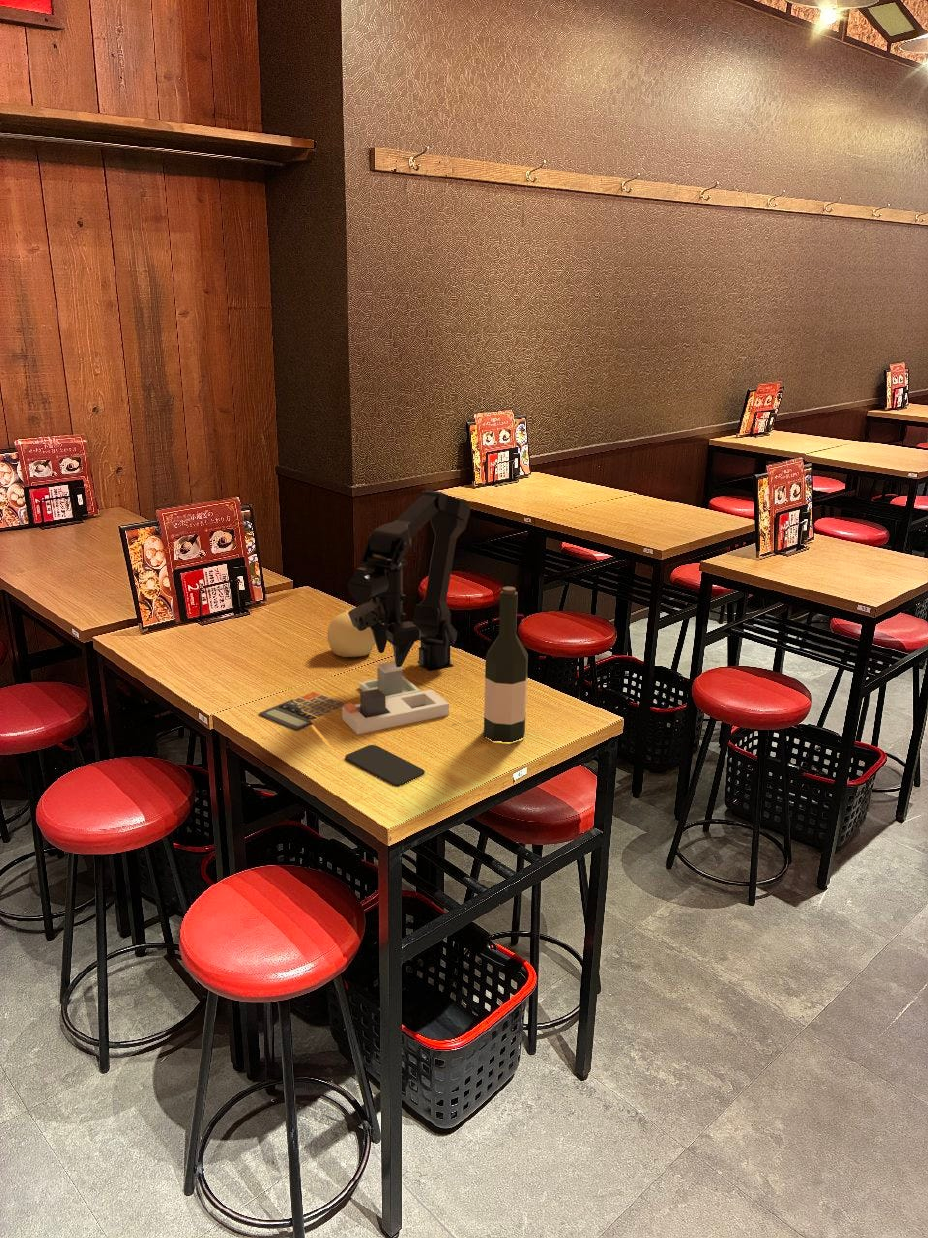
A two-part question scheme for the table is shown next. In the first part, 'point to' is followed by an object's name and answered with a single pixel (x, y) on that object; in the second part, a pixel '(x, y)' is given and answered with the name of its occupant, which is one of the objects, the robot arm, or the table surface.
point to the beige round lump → (349, 637)
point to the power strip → (392, 710)
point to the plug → (389, 678)
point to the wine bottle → (506, 676)
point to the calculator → (299, 711)
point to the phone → (384, 765)
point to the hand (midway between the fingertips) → (389, 659)
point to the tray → (406, 689)
